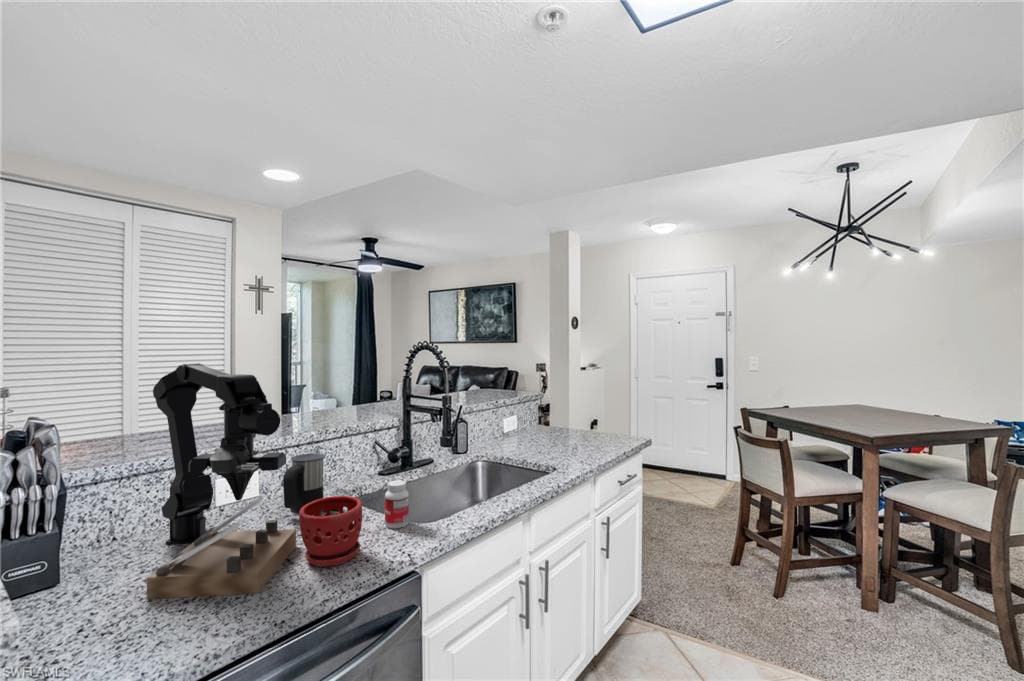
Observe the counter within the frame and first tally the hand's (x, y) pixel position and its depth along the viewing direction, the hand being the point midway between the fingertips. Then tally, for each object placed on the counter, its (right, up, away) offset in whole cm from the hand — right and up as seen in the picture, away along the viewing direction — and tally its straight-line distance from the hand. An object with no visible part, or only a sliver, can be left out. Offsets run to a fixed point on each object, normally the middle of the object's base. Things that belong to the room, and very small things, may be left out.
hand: (238, 499), depth 108 cm
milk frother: (+6, -13, +29) cm, 32 cm away
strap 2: (-1, -4, 0) cm, 4 cm away
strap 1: (+1, -5, -13) cm, 14 cm away
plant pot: (+21, -13, -1) cm, 25 cm away
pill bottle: (+31, -13, +18) cm, 38 cm away
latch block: (+2, -13, -6) cm, 14 cm away
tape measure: (+16, -13, +16) cm, 26 cm away
